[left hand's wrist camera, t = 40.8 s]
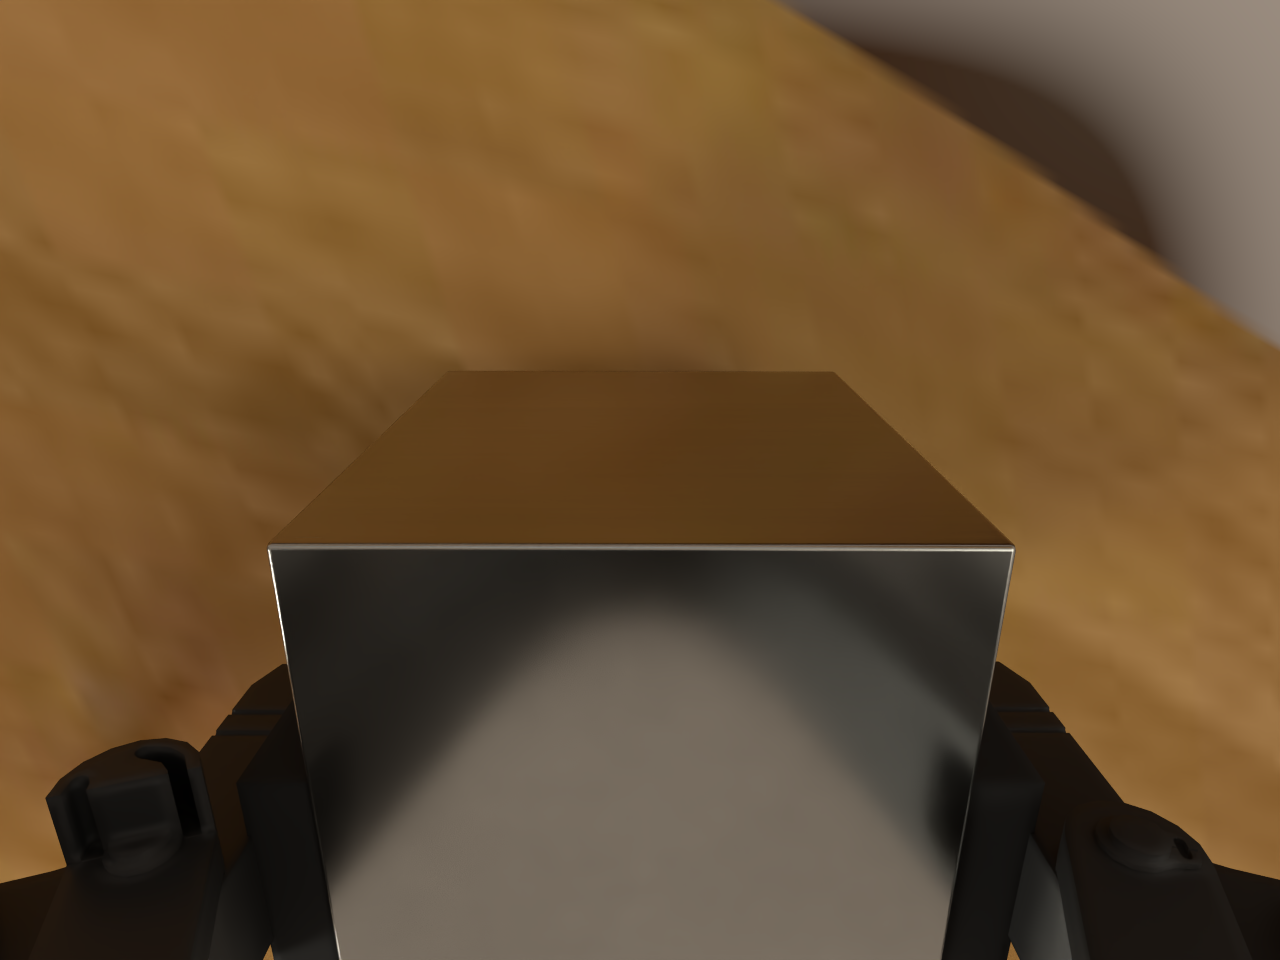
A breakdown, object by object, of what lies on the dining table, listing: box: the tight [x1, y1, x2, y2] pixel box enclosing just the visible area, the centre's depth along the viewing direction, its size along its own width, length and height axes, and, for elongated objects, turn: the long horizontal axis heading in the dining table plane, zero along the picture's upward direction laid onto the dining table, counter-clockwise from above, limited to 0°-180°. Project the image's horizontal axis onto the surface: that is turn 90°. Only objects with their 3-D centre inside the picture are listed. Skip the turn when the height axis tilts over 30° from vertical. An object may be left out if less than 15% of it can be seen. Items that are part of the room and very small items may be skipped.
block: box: [267, 371, 1016, 960], centre depth 12 cm, size 8×7×7 cm
